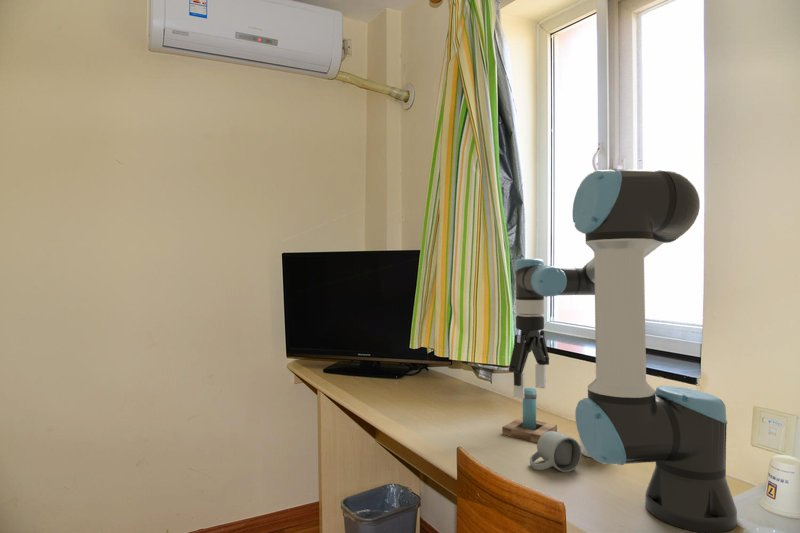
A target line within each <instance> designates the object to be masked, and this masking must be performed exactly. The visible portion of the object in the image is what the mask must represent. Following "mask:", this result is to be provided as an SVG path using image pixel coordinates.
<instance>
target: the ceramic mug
mask: <svg viewBox="0 0 800 533" xmlns="http://www.w3.org/2000/svg"><path fill="white" fill-rule="evenodd" d="M582 455H583V454H582V453H581V447H580V442H578V440H576V439H575V438H574V437H570V436H568V435H565V434H563V433H560V432H559V431H557V432H555V431H548V432H545V433H543V434H542V435H541V436H540V438H539V439H538V442H536V452H535V453H533V454H532V455H531V456H530V457H529V463H530V465H531V468H533V469H534V470H535V471H544V470H547V469H549V468H551V467H554V468H555V470H558V471H559V472H562V473H569V472H572V471H574V470H575V469H576V468H577V467H578V466H579V464H580V462H581V461H582V460H581V458H582ZM539 458H541V459H543V461H544V462H539V463H535V462H536V461H537V460H538V459H539Z"/></svg>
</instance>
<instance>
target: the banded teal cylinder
mask: <svg viewBox="0 0 800 533" xmlns="http://www.w3.org/2000/svg"><path fill="white" fill-rule="evenodd" d="M537 394H538V393H537V389H536V388H532V387H524V398H522V418H523V428H525V429H530V430H534V431H535V430H536V421H537V396H538V395H537Z"/></svg>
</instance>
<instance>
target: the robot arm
mask: <svg viewBox="0 0 800 533" xmlns="http://www.w3.org/2000/svg"><path fill="white" fill-rule="evenodd" d="M579 184H580V185H579V186H578V188H577V190H576V192H575V195H574V200H573V202H572V203H573V204H572V222H573V223H574V227H575V229H576V230H577V231H578V232H579V233H581V234H585V244H586V245H587V246H588V247H589V248H590V249H591V250H592V251H593V256H594V257H593V258H592V259H591V260H590V261H587V263H586V264H585V265H544V260H543V259H541V258H520V259H519V258H518V259H517V260H516V262H515V270H514V274H515V302H514V305H515V313H516V316H515V329H517V330H518V331H519V330H520V334H515V335H514V343H513V348H512V352H511V357H510V362H509V368H508V370H509V373H513V398H518V399H519V398H520V399H523V398H524V388H525V372H524V368H525V366H526V362H527V360H528V356H529V353H531V352H532V354H533V357H534V359H535V361H536V364H534V365H535V368H534V370H535V371H534V372H535V388H538V389H546V377H547V376H546V374H547V372H546V366H548V365H550V356H549V352H548V347H547V344H546V339H545V337H546V336H545V330H544V329H545V317H544V316H543V315H544V314H545V300H544V299H545V297H556V296H594V321H595V322H594V323H595V325H594V326H595V327H594V328H595V379H594V380H593V381H591V383H590V384H588V385H587V397H586V398H585V397H584V398H582V399H580V400H579V401H578V402H577V404H576V406H575V413H574V414H575V424H576V428H577V432H578V437H579V436H580V439H581V441H582V443H583V445H584V447H585V449H586V450H587V452H588V453H589V455H590V456H591V457H592V459H593V460H594V461H596V462H598V463H600V464H604V465H610V464H611V465H618V466H624V465H627V464H643V463H655V466H654V467H655V468H654V469H653V472H652V475H651V477H650V479H649V482H648V486H647V489H646V490H645V495H644V496H645V501H644V503H645V507H646V509H647V510H648V512H649V513H650V514H651V515H653V516H654V517H656V518H657V519H658V520H660V521H662V522H664V523H667V524H669V525H671V526H673V527H677V528H680V529H683V530H688V531H693V532H698V533H724V532H728V531H731V530H734V528H736V526H737V525H738V523H737V522H738V510H737V507H736V505H735V502H734V498H733V496H732V495H733V494H732V492H731V490H730V487H729V484H728V481H727V474H726V473H727V472H726V471H727V427H728V426H727V425H728V420H727V409H726V404H725V402H724V401H723V400H722V399H720V397H717V396H715V395H713V394H710V393H708V392H704V391H701V390H697V389H691V388H688V387H687V388H686V387H681V386H673V385H660V386H657V387H656V389H654V388H653V387H652V386H651V385H650V384H649V383H648V382H647V362H646V360H647V357H646V356H647V355H646V354H647V353H646V350H647V349H646V345H647V344H646V300H645V298H646V297H645V296H646V295H645V294H646V293H645V292H646V289H645V287H646V286H645V258H646V257H647V256H648V255H650V254H651V253H652V252H654V251H655V250H656V249H657V248H659V247H660V246H662V245H663V244H668V243H673V242H674V241H676V240H678V239H679V238H681V236H683V235H684V234H685V233H686V232H688V231H689V230H690V229H691V227H692V226H693V225H694V224H695V221H696V220H697V218H698V216H699V213H700V212H699V211H700V207H701V206H700V205H701V203H700V196H699V193H698V191H697V189H696V187H695V186H694V184H693V183H692V182H691V181H690V180H689V179H688V178H687V177H685V176H684V175H682V174H680V173H678V172H675V171H671V170H661V169H660V170H649V169H648V170H647V169H626V168H625V169H623V168H622V169H619V168H612V169H599V170H594V171H592V172H590V173H589V174H587V175H586V176H585V177H584V178H583V179H582V180H581V182H580V183H579ZM591 457H590V458H591Z"/></svg>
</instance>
